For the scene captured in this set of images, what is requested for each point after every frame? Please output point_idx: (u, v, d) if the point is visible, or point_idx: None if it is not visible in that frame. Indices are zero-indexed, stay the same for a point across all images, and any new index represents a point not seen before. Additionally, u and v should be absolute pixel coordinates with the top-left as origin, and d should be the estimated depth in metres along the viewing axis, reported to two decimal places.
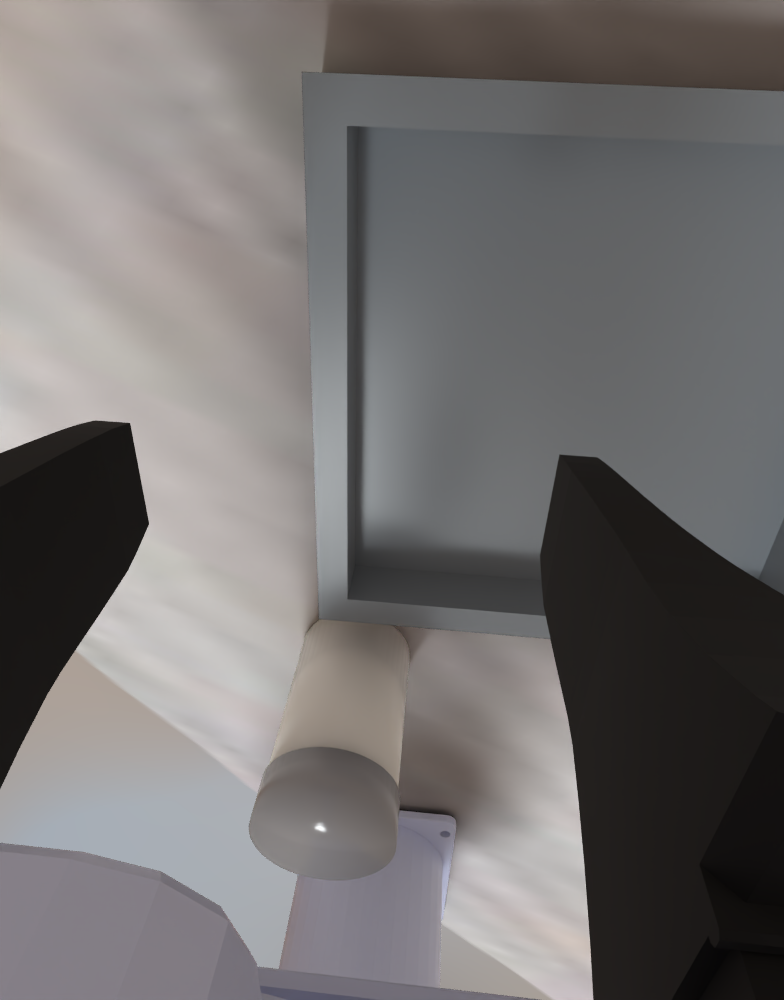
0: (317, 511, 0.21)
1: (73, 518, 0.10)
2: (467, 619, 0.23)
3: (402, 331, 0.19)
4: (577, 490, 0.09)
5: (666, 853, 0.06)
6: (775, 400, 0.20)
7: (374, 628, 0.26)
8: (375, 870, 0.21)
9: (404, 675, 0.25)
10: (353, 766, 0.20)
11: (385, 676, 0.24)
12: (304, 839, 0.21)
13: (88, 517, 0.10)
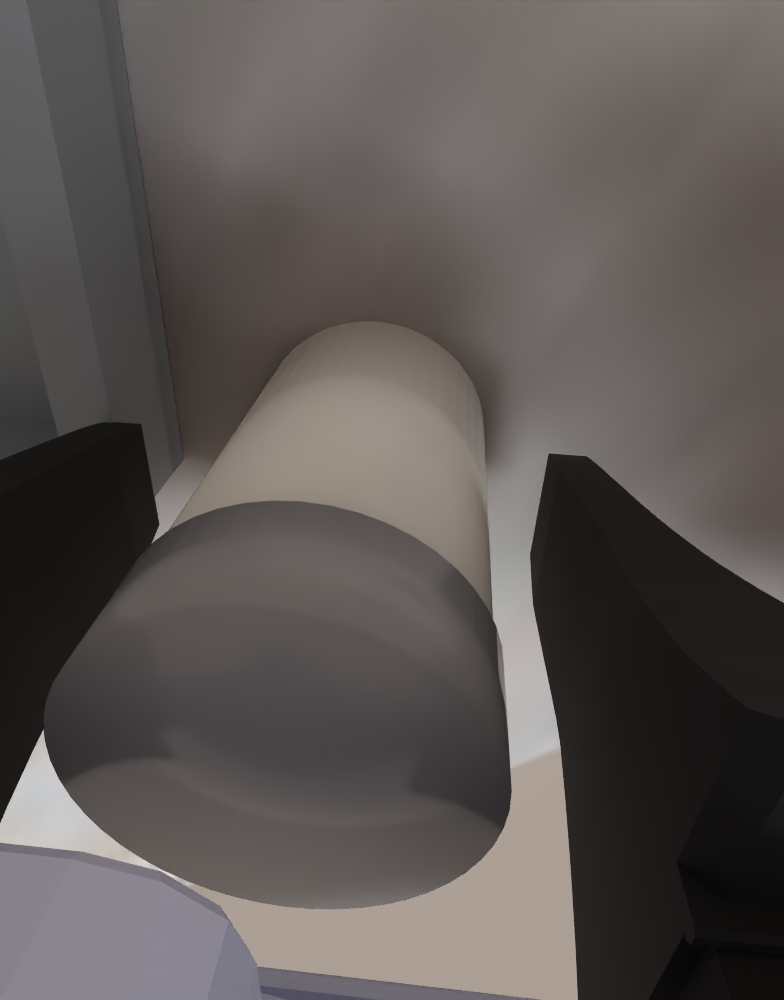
0: None
1: (87, 519, 0.10)
2: (33, 220, 0.09)
3: None
4: (565, 489, 0.09)
5: (645, 851, 0.06)
6: None
7: None
8: (447, 673, 0.06)
9: (318, 357, 0.11)
10: None
11: (245, 416, 0.10)
12: (288, 818, 0.07)
13: (100, 518, 0.10)
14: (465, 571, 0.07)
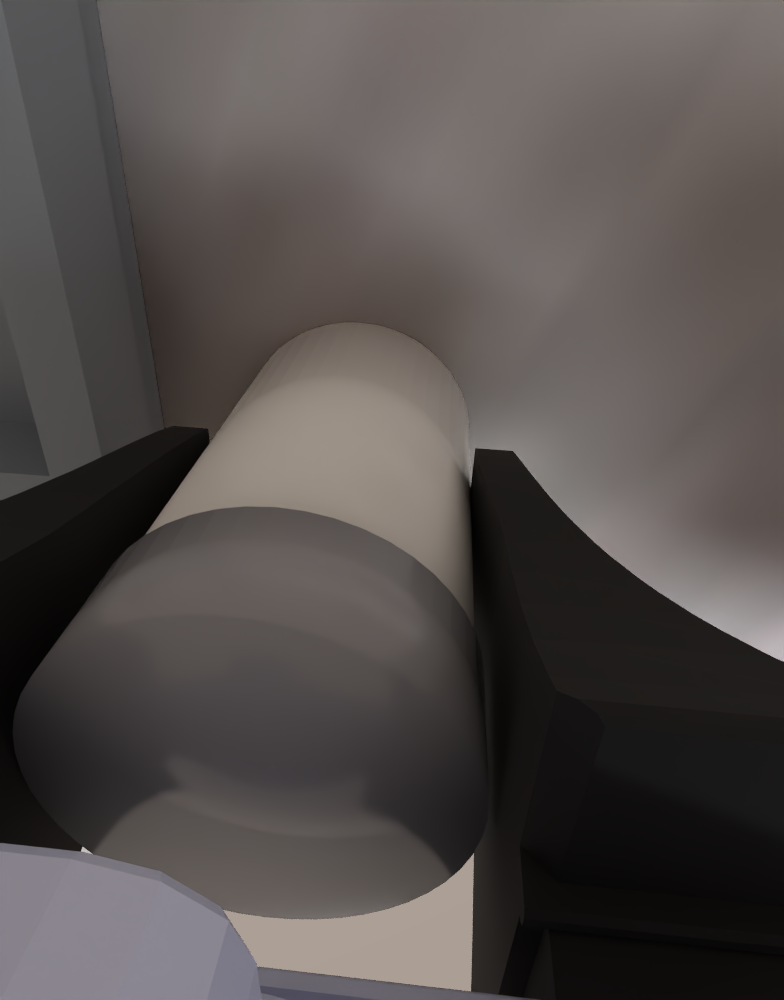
0: None
1: None
2: (11, 222, 0.09)
3: None
4: (481, 483, 0.09)
5: (507, 836, 0.06)
6: None
7: None
8: (420, 681, 0.06)
9: (300, 359, 0.11)
10: None
11: (225, 420, 0.10)
12: (264, 828, 0.07)
13: None
14: (444, 575, 0.07)
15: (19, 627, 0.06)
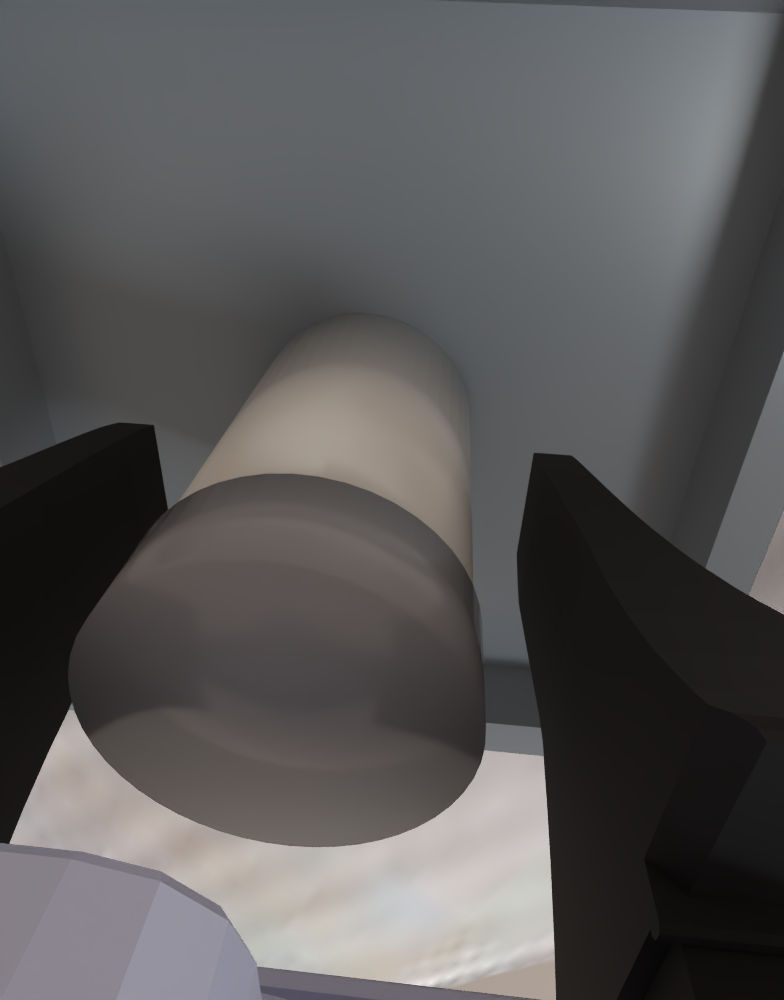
0: (492, 748, 0.16)
1: (100, 520, 0.10)
2: None
3: None
4: (547, 488, 0.09)
5: (617, 848, 0.06)
6: (348, 114, 0.11)
7: None
8: (423, 617, 0.06)
9: (310, 348, 0.12)
10: None
11: (243, 405, 0.11)
12: (288, 759, 0.08)
13: (114, 519, 0.10)
14: (445, 535, 0.08)
15: None
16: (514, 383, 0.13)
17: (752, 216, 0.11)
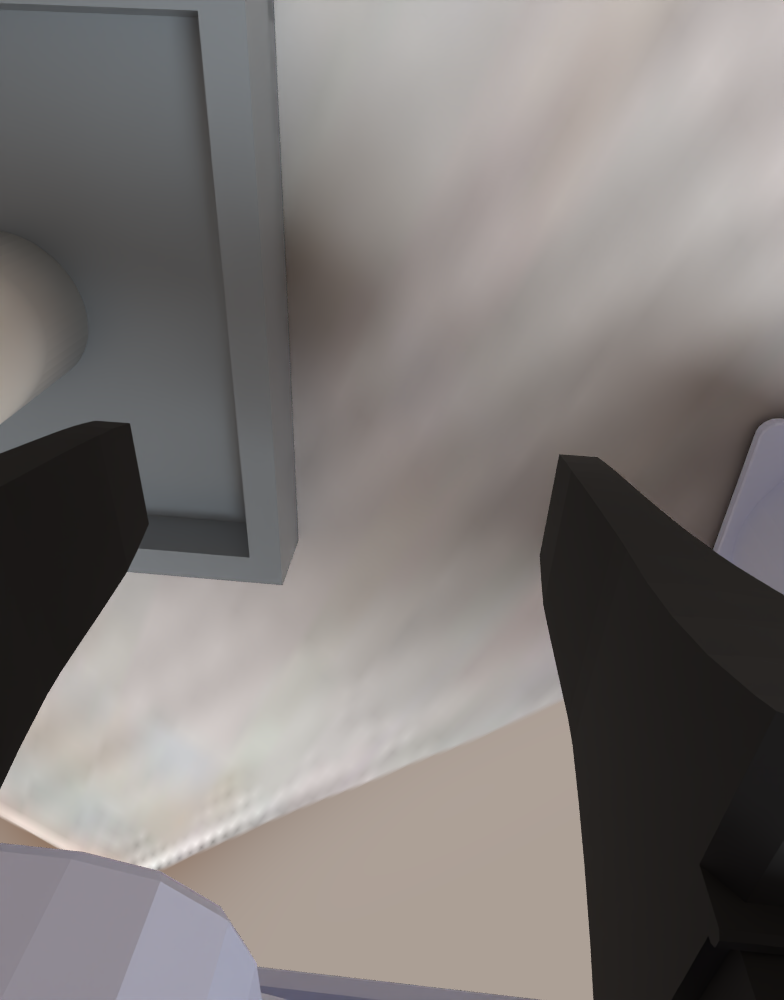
0: (148, 571, 0.22)
1: (74, 518, 0.10)
2: (254, 443, 0.19)
3: None
4: (577, 490, 0.09)
5: (666, 853, 0.06)
6: None
7: None
8: None
9: None
10: None
11: None
12: None
13: (88, 517, 0.10)
14: None
15: None
16: (107, 281, 0.19)
17: None
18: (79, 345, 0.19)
